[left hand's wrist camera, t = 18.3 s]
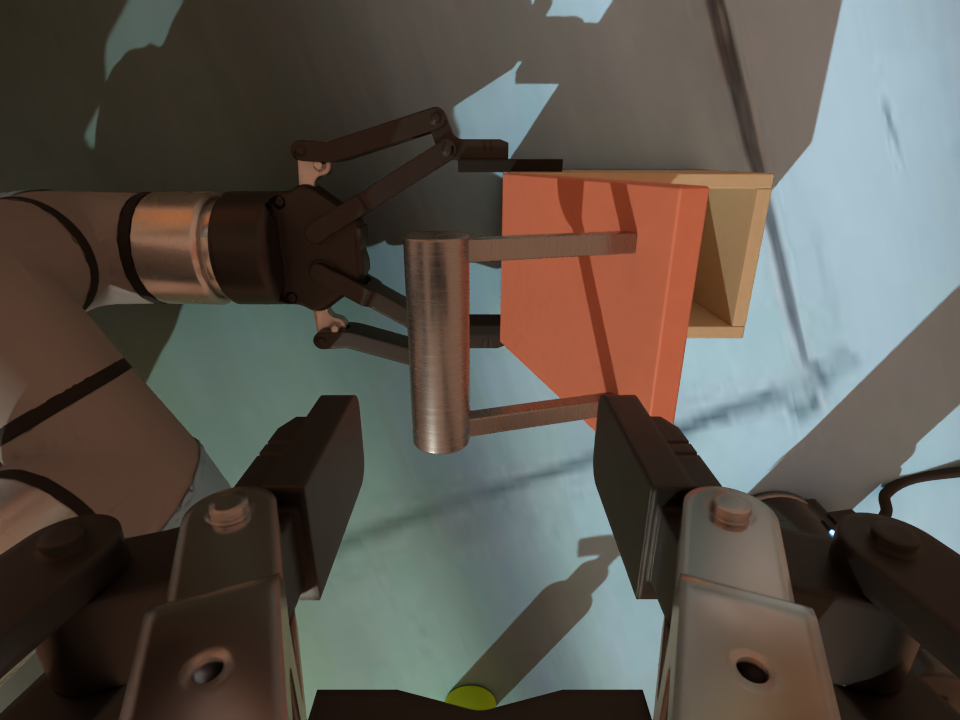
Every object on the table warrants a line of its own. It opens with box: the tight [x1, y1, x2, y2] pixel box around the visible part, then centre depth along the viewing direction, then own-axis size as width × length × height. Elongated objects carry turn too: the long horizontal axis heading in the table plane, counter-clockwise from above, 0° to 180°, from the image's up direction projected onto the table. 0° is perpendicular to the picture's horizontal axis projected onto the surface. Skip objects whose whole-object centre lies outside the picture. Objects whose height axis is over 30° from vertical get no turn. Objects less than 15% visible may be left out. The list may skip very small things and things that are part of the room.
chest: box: [503, 169, 774, 338], centre depth 37 cm, size 15×10×10 cm, turn 90°
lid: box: [403, 173, 709, 454], centre depth 23 cm, size 16×10×9 cm
